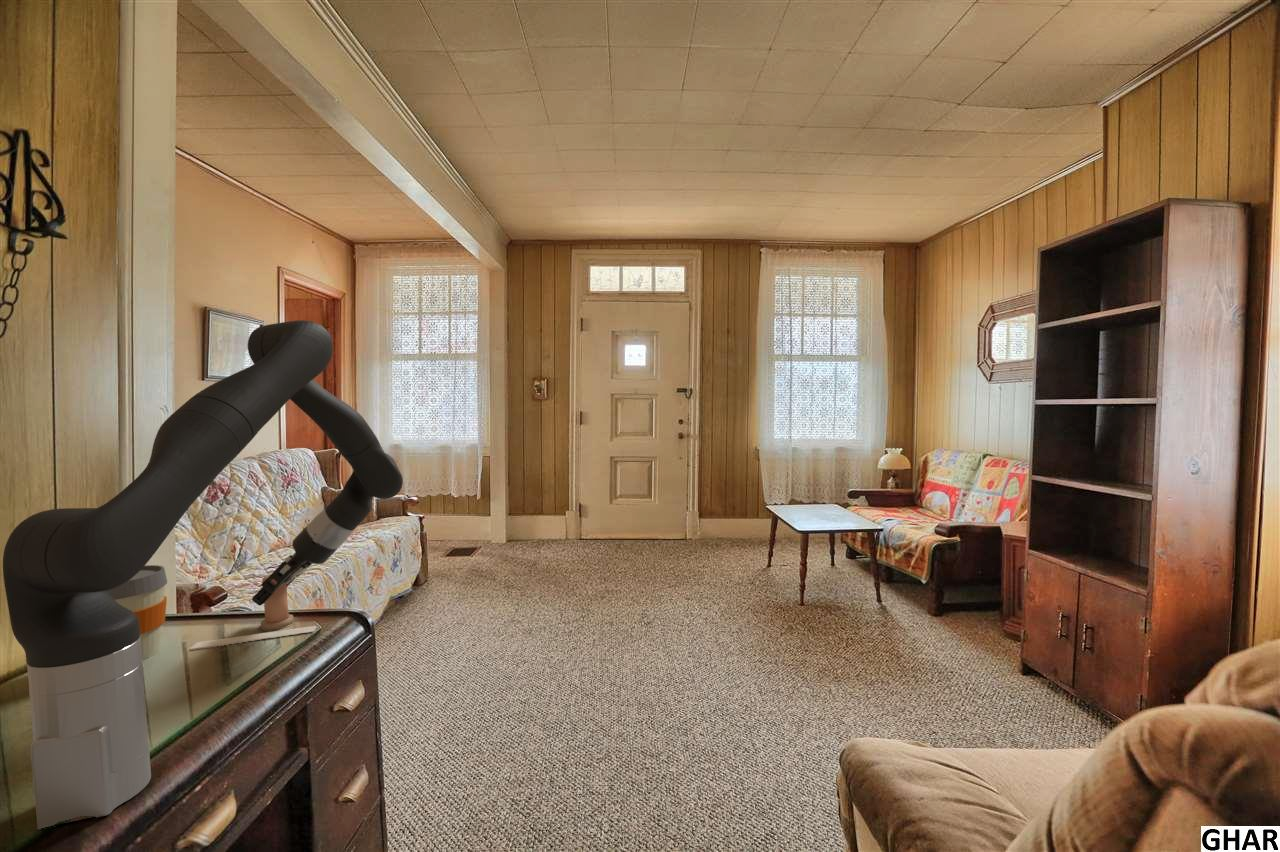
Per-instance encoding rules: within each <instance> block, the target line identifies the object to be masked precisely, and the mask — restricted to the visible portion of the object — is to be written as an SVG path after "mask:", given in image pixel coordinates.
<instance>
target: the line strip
mask: <svg viewBox="0 0 1280 852" xmlns="http://www.w3.org/2000/svg"><path fill="white" fill-rule="evenodd" d="M316 629H317V625H312V626H303V627H298V628H291V629H284V630H274V631H266V632H262V633H260V632H259V633H255V634H247V635H241V636H232V637H226V638H220V639H212V640H204V641H197V642H196V643H194V645H192V646H191V647H190V649H189V651H198V650H204V649H209V648H210V649H211V648H216V647H217V646H218V647H224V645H225V646H230V645H229V644H232V645H235V644H234V643H239V644H241V643H240V642H245V641H251V640H260V641H262V640H261V639H267V638H274V637H279V636H284V635H292V634H298V633H308V632H313V631H314V632H315V630H316ZM314 632H313V633H314ZM308 634H309V633H308ZM274 639H275V638H274ZM267 640H268V639H267Z"/></svg>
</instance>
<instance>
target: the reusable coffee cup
mask: <svg viewBox="0 0 1280 852" xmlns="http://www.w3.org/2000/svg"><path fill="white" fill-rule="evenodd" d="M167 584H168V579H167V574H166V571H165V567H164V565H163V566H162V565H158V564H157V565H156V564H151V565H150V564H149V565H147V564H146V565H145V566H144V567H143V568H142V569H141V570H140V571H139V572H138V573H137V574H136V575H135V576H134V577H132V578H131V579H130V580H129V581H127V582H125V583H124V584H122V585H120V586H118V587H116V588H113V589H110V590H107V591H108V593H109V594H110V596H111V597H112V598H113V599H114V600H115V601H116V602H117V603H119V604H120V605H122V606H123V607H125V608H127V609H129V610H131V611H132V612H134V613H135V614H136V615H137V617H138V620H139V627H140V639H141V652H142V661H144V660H147V659H149V658H151V657H153V656H155V655H156V654H158V653H159V652H160V648H161V639H162V638H161V636H162V628H163V627H162V626H163V624H165V622H166V613H167V611H166V610H167V602H168V601H167V599H168V598H167V596H166V595H165V592H166V591H165V589H166V585H167Z"/></svg>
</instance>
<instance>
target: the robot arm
mask: <svg viewBox="0 0 1280 852" xmlns="http://www.w3.org/2000/svg"><path fill="white" fill-rule="evenodd" d="M332 339H333V338H332V336H331V334H330V332H329V331H328V329H326V328H325V327H324V326H323V325H321V324H319V323H318V322H316V321H312V320H305V319H303V320H301V319H299V320H290V321H284V322H275V323H271V324H265V325H261V326H259V327H257V328H255V329H254V330H253V331H252V332H251V333H250V335H249V337H248V339H247V352H248V355H249V358H250V360H251V362H252V365H250V366H248V367H246V368H244V369H241V370H240V371H236V372H234V373H233V374H231V375H229V376H226V377H224V378H222V379H220V380H218V381H216V382H214V383H213V384H211V385H208V386H207V387H205V388H204V389H201V390H200V391H199V392H197V393H196V394H194V395H192V397H190V398H189V399H188V400H187V401H186V402H185V403H183V404H182V405H181V406H180V407H179V408H177V409H176V410H175V411H174V412H173V413H172V414H171V415H169V416H168V417H167V418H166V420H165V421H164V422H163V423H162V424H161V425H160V427H159V429H158V431H157V432H156V435H155V438H154V441H153V445H152V448H151V455H150V458H149V461H148V463H147V465H146V467H145V468H144V470H142V471H141V473H140V474H139V475H137V477H136V478H135V479H134V480H133V481H131V482H130V483H129V484H128V485H126V487H124V488H123V490H122V491H120V492H119V493H118V494H117V495H115V496H114V497H113V498H111V499H110V500H109V501H107V502H106V503H103V504H101V506H99V507H84V508H83V507H80V508H78V507H73V508H72V507H71V508H70V507H69V508H67V507H66V508H53V509H48V510H43V511H40V512H39V511H38V512H37V513H34V514H32V515H30V516H28V517H27V518H25V519H24V520H22V521H21V522H20V523H19V524H18V525H16V527H14V529H13V530H12V532H11V533H10V535H9V537H8V539H7V540H6V543H5V545H4V549H3V556H2V576H3V584H4V590H5V591H4V592H5V595H6V602H7V608H8V614H9V622H10V626H11V631H12V633H13V636H14V638H15V639H16V641H17V642H18V644H19V645H21V647H22V649H23V650H24V653H25V661H26V667H27V668H26V670H27V678H28V681H27V682H28V691H29V692H28V694H29V706H30V715H31V728H32V738H33V739H32V740H33V741H32V742H31V744H30V747H29V748H30V758H31V759H30V760H31V769H32V779H33V780H32V781H33V792H34V803H35V812H36V813H35V814H36V825H37V826H36V827H37V830H42V829H41V828H43V827H46V826H50V825H54V824H56V823H58V822H60V821H61V822H62V821H65V820H69V819H72V818H75V817H78V816H79V817H80V816H83V817H84V816H95V817H96V818H101V817H104V816H108V815H110V814H111V813H112V812H113V811H114V809H116V808H117V807H119V806H121V805H122V804H123V803H126V802H128V801H129V800H131V799H132V798H133V797H135V796H137V795H138V794H139V793H140V792H141V791H142V790H144V789H145V788H146V787H147V785H149V783H150V781H151V779H152V771H151V756H150V755H151V754H150V744H149V743H150V742H149V732H148V721H147V719H148V718H147V708H146V707H147V705H146V695H145V694H146V693H145V692H146V691H145V682H144V681H145V680H144V668H143V660H142V652H141V639H140V627H139V620H138V617H137V615H136V614H135V613H134V612H132V611H131V610H129V609H127V608H125V607H123V606H122V605H120V604H119V603H117V602H116V601H115V600H114V599H113V598H112V597H111V596H110V594H109V593H108V591H107V590H110V589H113V588H116V587H118V586H120V585H122V584H124V583H125V582H127V581H129V580H130V579H131V578H132V577H134V576H135V575H136V574H137V573H138V572H139V571H140V570H141V569H142V568H143V567H144V566H146V565H147V563H148V562H149V561H150V560H151V558H152V557H153V556H154V555H155V554H156V552H157V551H158V549H159V548H160V547H161V545H162V544H163V543H164V541H165V540H166V539H167V538H168V536H169V535H170V534H171V532H172V531H173V530H174V528H175V527H176V526H177V524H178V523H179V521H180V520H181V519H182V517H184V515H185V513H186V512H187V511H188V510H189V508H190V507H191V506H192V505H193V504H194V502H195V501H196V500H197V499H198V498H199V497H200V496H201V495H202V494H203V493H204V492H205V491H206V489H207V488H208V487H209V486H210V484H211V483H213V481H214V480H215V479H216V478H217V477H218V476H219V474H221V472H222V471H223V470H224V469H225V468H226V467H227V466H228V465H229V464H230V463H231V462H232V461H233V460H235V458H237V456H238V455H239V454H240V453H241V452H242V451H243V450H244V449H245V448H246V447H247V446H248V444H249V443H250V442H251V441H252V440H253V439H254V438H255V437H256V435H257V434H258V433H259V432H260V431H261V430H262V428H264V427H265V425H266V424H267V423H269V421H270V420H272V418H273V417H274V416H276V414H277V413H278V412H279V411H280V410H281V409H282V408H283V407H284V405H285V404H287V402H289V400H290V401H291V402H292V403H293V404H294V405H296V406H297V407H298V408H299V409H300V410H301V411H302V412H304V414H305V415H306V416H308V417H309V418H310V419H311V420H312V421H313V422H314V424H316V425H317V426H318V427H319V428H320V430H321V431H322V432H323V433H324V434H325V435H326V436H327V438H328V439H329V440H330V442H331V443H332V444H333V445H334V447H335V448H336V449H337V451H338V452H339V454H341V456H342V457H343V458H344V459H345V460H346V461H347V463H348V464H349V465H350V467H351V468H352V470H353V471H352V473H351V475H350V476H349V478H348V480H347V481H346V483H345V484H344V486H343V488H342V490H341V491H340V493H339V494H338V495H337V496H336V497H335V498H333V500H331V502H330V503H329V504H328V505H327V506H326V507H325V508H324V509H323V510H322V511H320V512H319V513H318V514H317V515H315V517H314V518H313V519H312V520H311V521H310V522H309V523H308V524H307V525H306V526H305V527H304V528H303V529H302V530H301V531H300V532H299V533H298V534H297V536H296V537H295V538H294V539H293V540H292V548H293V550H294V553H293V554H290V555H289V556H288V557H286V558H285V559H284V561H282V562H281V563H280V565H279V566H278V567H277V568H276V569H275V570H274V571H272V573H271V574H269V575H270V576H269V575H268V576H269V577H268V578H267V579H266V580H265V581H264V582H263V581H262V583H261V585H260V586H261V588H260V589H259V590H258V591H257V593H256V594H254V595H253V596H252V598H251V601H252V602H254V604H256V605H258V606H262V605H264V603H265V602H266V601H267V599H268V598H269V597H270V596H271V595H272V594H273V593H274V592H275V591H277V590H278V589H279V588H280V587H281V586H282V585H283V584H287V587H288V586H289V585H291V583H293V581H294V580H295V579H297V578H298V577H300V576H301V575H303V574H304V573H305V572H306V571H307V570H308V569H309V568H310V567H311V566H312V564H314V565H322V564H324V563H325V562H326V561H327V560H329V558H330V557H331V556H333V554H334V553H335V552H336V551H337V550H338V549H339V548H340V547H341V546H342V545H343V544H344V543H345V542H346V540H348V539H349V537H350V536H351V535H352V533H353V531H355V529H356V528H357V527H358V526H359V525H360V524H361V523H362V522H363V521H364V520H365V519H366V518H367V517H368V515H369V514H370V512H371V510H372V501H373V497H374V498H376V499H381V500H387V499H392V498H393V497H395V496H397V495H398V494H399V493H400V491H401V490H402V487H403V484H404V482H403V481H404V480H403V476H402V473H401V471H400V469H399V467H398V465H397V463H396V461H395V459H394V458H393V457H392V456H391V455H390V454H388V453H386V452H385V451H384V449H383V447H382V445H381V443H380V441H379V439H378V437H377V435H376V433H374V431H373V430H372V427H370V425H369V424H368V422H367V421H366V420H365V418H364V417H363V416H362V415H361V414H360V413H359V412H358V411H357V410H356V409H355V408H354V407H352V406H351V405H349V404H348V403H346V402H345V401H344V400H342V399H340V398H338V397H337V396H336V395H334V394H332V393H331V392H329V391H328V390H327V389H325V388H324V387H323V386H322V385H320V384H319V383H318V382H316V380H314V379H316V378H317V377H318V376H319V375H320V374H321V373H322V372H323V371H324V370H325V369H327V367H328V365H329V364H330V361H331V360H332V357H333V353H334V345H333V343H334V342H333V340H332ZM273 579H274V580H276V581H277V584H276V585H275V584H274V583H273V582H271V581H272V580H273Z"/></svg>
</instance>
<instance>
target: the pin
mask: <svg viewBox="0 0 1280 852" xmlns="http://www.w3.org/2000/svg"><path fill="white" fill-rule="evenodd" d="M270 575H271V574H269V575H266V576H264V577H262V578H261V579H262V581H261V582H262V583H263V582H264V581H265V580H266V579H267V578H268V577H269V576H270ZM271 582H273V583H274V584H275V585H276V584H277V581H276V580H274V579H273V580H272V581H271ZM287 588H288V586H287V584H283V585H282V586H281V587H280V588H279V589H278V590H277V591H275V592H274V593H273V594H272V595H271V596H270V597H269V598H268V599H267V601H266V602H265V603H264V604H263V606H264V607H263V608H264V619H263V620H262V621H261V622H260V630H261V629H262V630H261V631H263V630H273V631H277V630H276V629H279V630H281V629H280V628H282V629H284V628H283V627H285V628H287V627H286V626H288V625H290V624H292V623H293V622H294V621H295V620H294V614H291V613H289V603H288V602H289V601H288V589H287ZM293 624H294V623H293ZM293 624H292V625H293ZM290 626H291V625H290ZM288 627H289V626H288Z"/></svg>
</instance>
